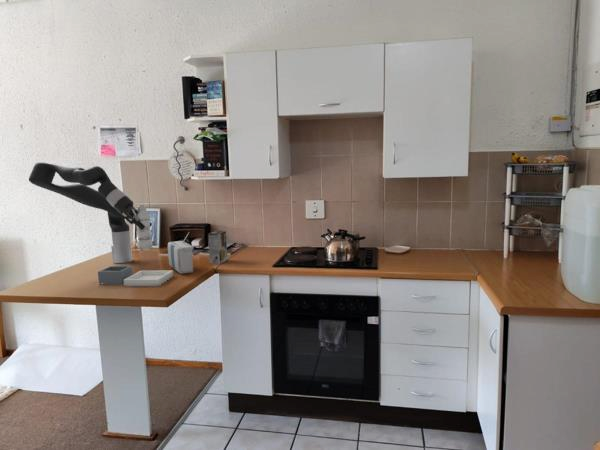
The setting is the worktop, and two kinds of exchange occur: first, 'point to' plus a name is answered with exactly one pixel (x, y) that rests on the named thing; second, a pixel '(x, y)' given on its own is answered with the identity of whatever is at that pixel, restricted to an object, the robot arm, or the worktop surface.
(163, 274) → the tray
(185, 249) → the stereo radio cassette player
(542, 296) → the worktop surface
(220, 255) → the coffee box
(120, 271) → the grey open box
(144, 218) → the plastic bottle
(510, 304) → the worktop surface
